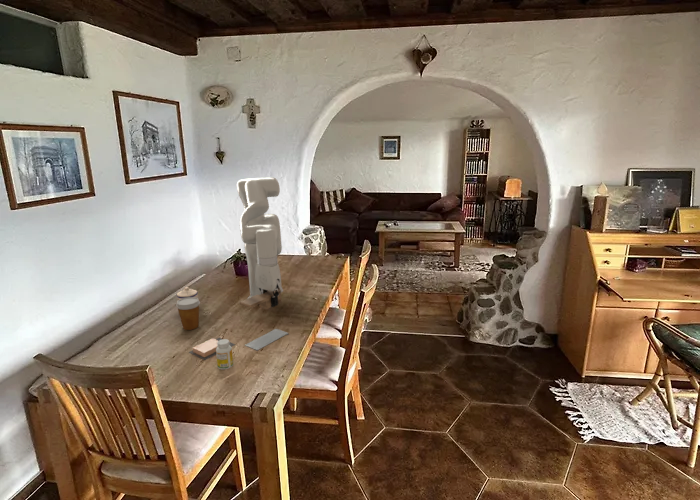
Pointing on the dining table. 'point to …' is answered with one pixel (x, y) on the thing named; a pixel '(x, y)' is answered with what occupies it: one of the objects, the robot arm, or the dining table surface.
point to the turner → (260, 300)
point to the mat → (211, 354)
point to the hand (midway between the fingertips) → (270, 304)
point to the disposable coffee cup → (189, 312)
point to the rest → (266, 339)
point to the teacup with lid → (187, 293)
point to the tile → (206, 348)
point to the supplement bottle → (224, 354)
